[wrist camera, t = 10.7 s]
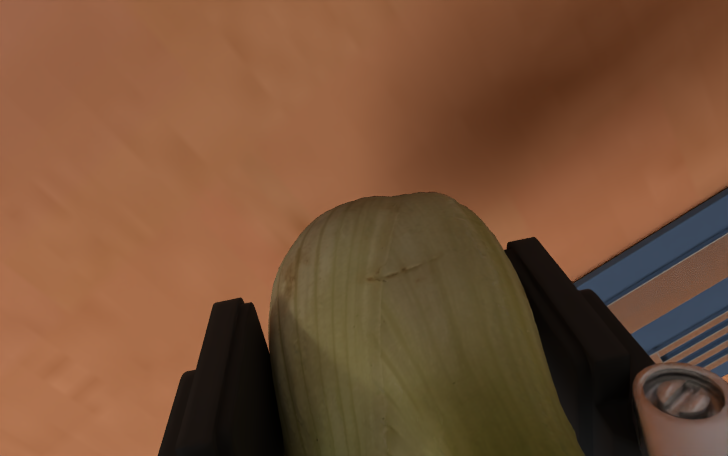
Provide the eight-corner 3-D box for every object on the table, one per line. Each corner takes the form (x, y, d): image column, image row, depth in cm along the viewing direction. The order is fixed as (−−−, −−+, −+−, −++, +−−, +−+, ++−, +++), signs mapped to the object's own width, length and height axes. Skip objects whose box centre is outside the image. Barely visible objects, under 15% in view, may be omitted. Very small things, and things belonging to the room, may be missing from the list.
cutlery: (364, 561, 24) (366, 577, 23) (285, 494, 22) (285, 511, 21) (779, 327, 20) (793, 339, 20) (732, 224, 18) (747, 234, 18)
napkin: (308, 600, 25) (308, 607, 25) (195, 516, 22) (193, 524, 22) (845, 300, 21) (852, 304, 20) (789, 149, 18) (796, 152, 17)
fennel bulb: (320, 378, 16) (346, 1244, 5) (219, 242, 14) (-73, 1202, 3) (510, 285, 15) (992, 1074, 5) (432, 127, 13) (972, 878, 3)
